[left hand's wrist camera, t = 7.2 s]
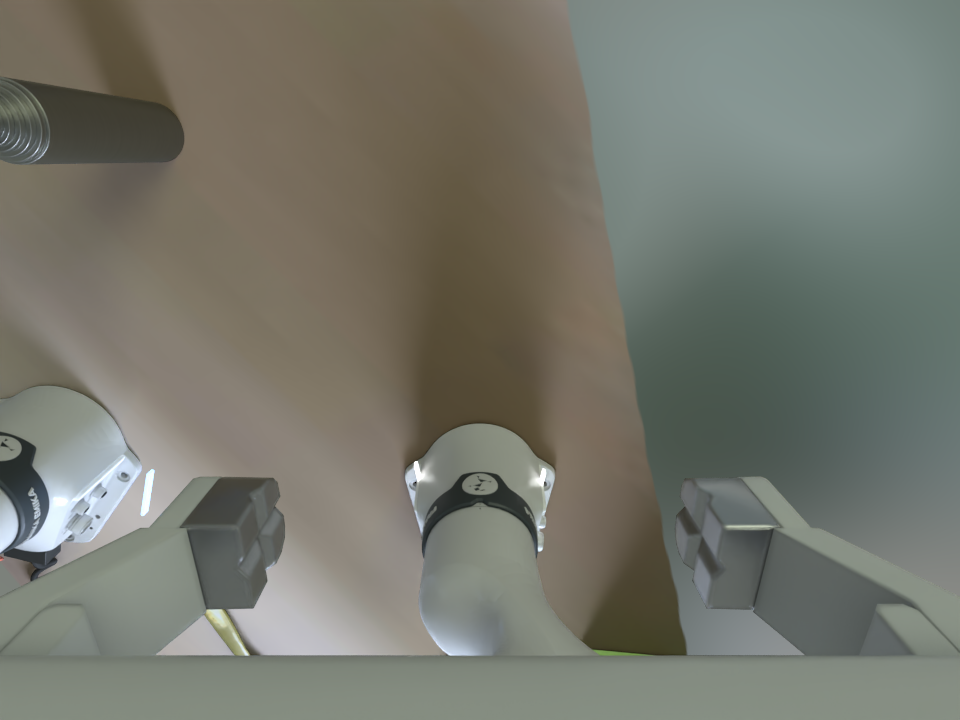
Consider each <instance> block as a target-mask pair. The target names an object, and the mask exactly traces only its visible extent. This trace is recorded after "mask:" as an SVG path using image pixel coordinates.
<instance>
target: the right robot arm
mask: <svg viewBox="0 0 960 720" xmlns="http://www.w3.org/2000/svg"><path fill="white" fill-rule="evenodd" d="M141 470H142V465H141V463H140V462H139V460H138V459H137V458H136V456H135V455H134V454H133V453H132V452H131V451H130V450H129V449H128V447H127V445H126V443H125V441H124V438H123V436H122V433H121V431H120V429H119V427H118V425H117V424H116V422H115V421H114V420H113V418H112V417H111V416H110V415H109V414H108V413H107V411H106V410H104V409H103V408H102V407H101V406H100V405H99V404H97V403H96V402H95V401H93V400H92V399H90V398H88V397H87V396H85V395H83V394H81V393H79V392H76V391H74V390H71V389H67V388H63V387H58V386H36V387H32V388H29V389H26V390H24V391H22V392H20V393H18V394H17V395H15V396H13V397H11V398H6V399H0V554H2V553H4V556H7V557H12V558H16V559H20V560H24V561H28V562H31V563H32V564H33V566H34V567H35V568H37V569H36V570H35V571H34V572H33V574H32V576H31V581H33V580H35V579H37V577H38V575H39V574H40V573H41V572H42V571H44V570H45V569H47V568H49V567H51V566H53V565H55V564H56V563H57V559H56V558H54V557H55V556H56V555H57V554H58V553H59V552H60V551H61V543H62V542H63V541H67V542H89V541H91V540H92V539H93V538H94V537H95V536H96V535H97V534H98V533H99V531H100V530H101V528H102V527H103V526H104V524H105V523H106V521H107V520H108V518H109V517H110V515H111V514H112V513H113V511H114V510H115V508H116V507H117V505H118V504H119V503H120V501H121V500H122V498H123V497H124V495H125V494H126V492H127V491H128V490H129V488H130V487H131V485H132V484H133V482H134V481H135V479H136V478H137V477H138V475H139V474H140V472H141ZM125 473H126V474H125ZM153 475H154V470H151V471H150V472H148V473H147V476H146V483H145V490H144V497H143V504H142V511H141V515H143V516H144V515H145V514H146V513H147V511H148V508H149V502H150V495H151V489H152V482H153ZM3 559H4V558H2V557H0V561H2V560H3Z"/></svg>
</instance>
